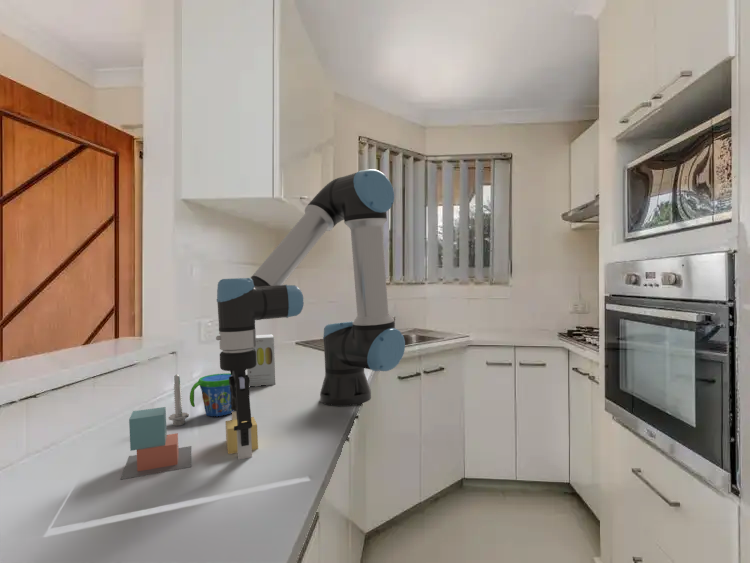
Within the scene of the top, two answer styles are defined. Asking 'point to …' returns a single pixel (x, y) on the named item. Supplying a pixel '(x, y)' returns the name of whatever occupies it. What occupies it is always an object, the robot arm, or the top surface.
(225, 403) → the snack cup
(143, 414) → the teal brick
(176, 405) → the screw
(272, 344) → the supplement box
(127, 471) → the base
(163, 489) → the top surface
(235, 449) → the ochre brick
